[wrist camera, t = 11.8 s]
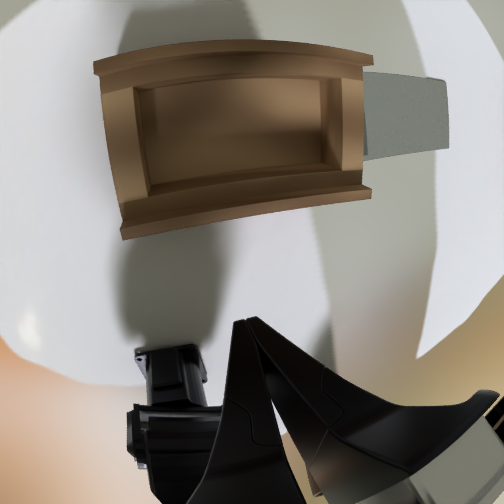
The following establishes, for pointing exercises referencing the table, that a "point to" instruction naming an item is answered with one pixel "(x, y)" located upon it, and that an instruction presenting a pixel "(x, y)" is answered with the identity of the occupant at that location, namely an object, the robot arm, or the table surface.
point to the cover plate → (403, 115)
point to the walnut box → (231, 130)
